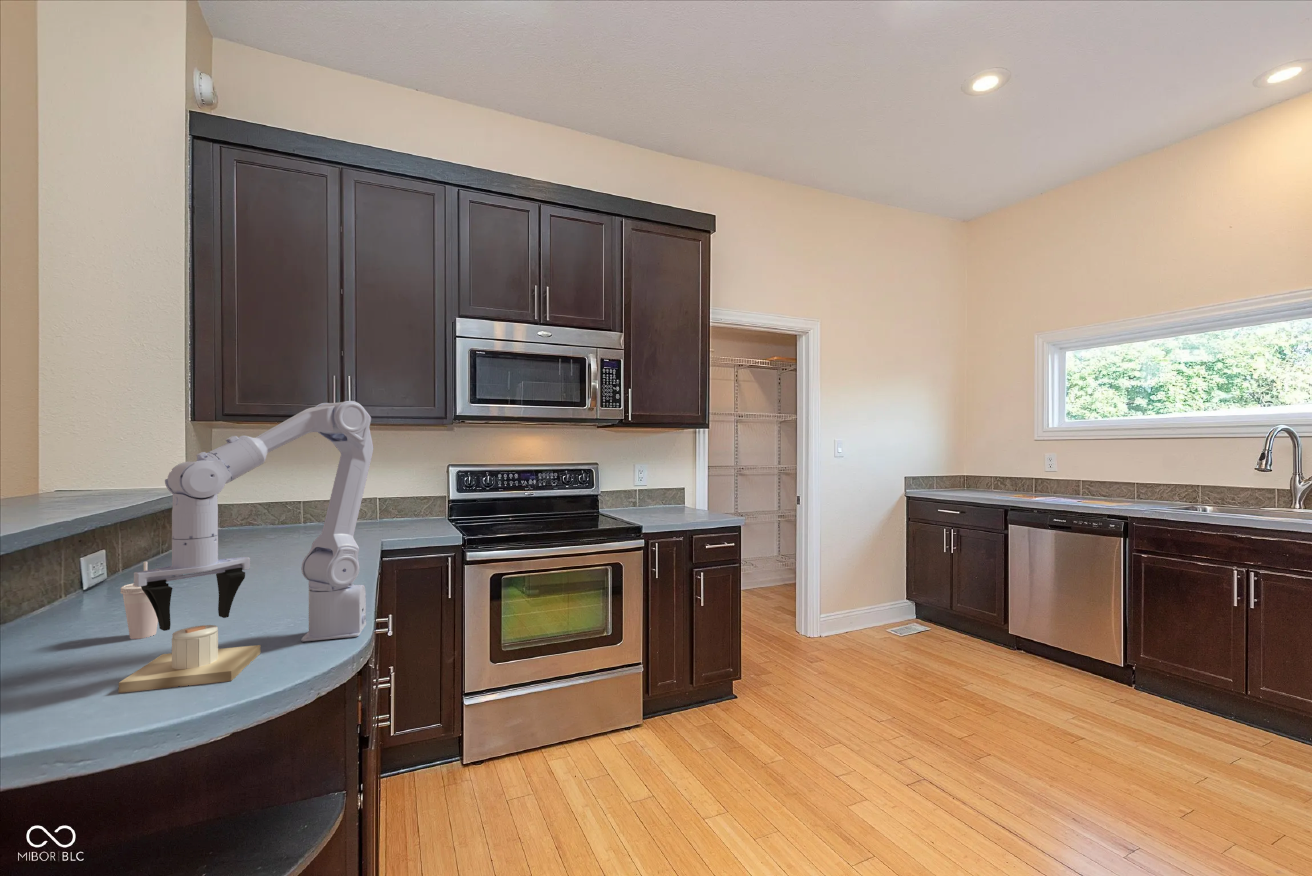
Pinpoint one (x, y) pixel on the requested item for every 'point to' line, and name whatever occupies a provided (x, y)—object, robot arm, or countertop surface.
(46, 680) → the countertop surface
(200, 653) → the cream short cylinder
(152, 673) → the post board
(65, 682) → the countertop surface
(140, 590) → the smoothie
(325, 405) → the robot arm
